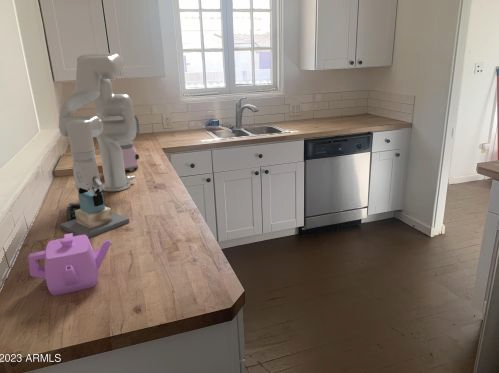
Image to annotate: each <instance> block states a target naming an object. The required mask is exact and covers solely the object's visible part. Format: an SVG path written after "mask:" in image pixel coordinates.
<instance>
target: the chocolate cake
mask: <svg viewBox="0 0 499 373" xmlns="http://www.w3.org/2000/svg"><path fill="white" fill-rule="evenodd" d="M79 209H81V208H80V203H73V202H69V204H68V206H67V207H66V210H65V213H66V216H65V218H66V220H67V221H71V220H74V219H76V215H75V211H76V210H79Z"/></svg>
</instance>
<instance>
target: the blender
mask: <svg viewBox="0 0 499 373" xmlns="http://www.w3.org/2000/svg"><path fill="white" fill-rule="evenodd" d="M134 118H135V125H136V135H140V134H139V133H140V120H139V118H138V116H136V115H135V114H134ZM108 119H123V117H121V116H116V117H108ZM133 140H134V139H132V140H121V141H115V142H116V143H117V144H118V145H119V146H120V147H121V149H122V152H123V160H124V167H125V171H129V173H130V172H135V170H134V169H138V168H139V164H138V160H139V159H140V156H139V154H137V149H136V148H135V146H134V144H133Z"/></svg>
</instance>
